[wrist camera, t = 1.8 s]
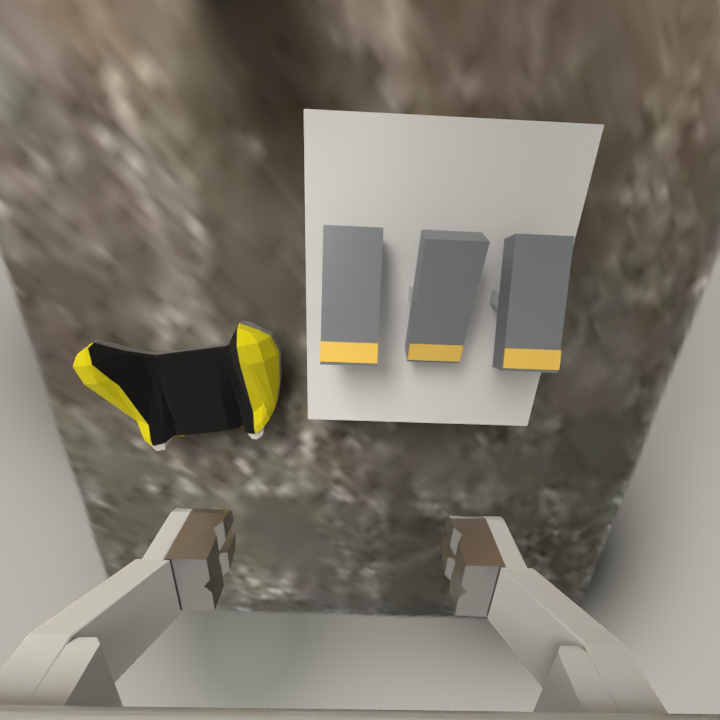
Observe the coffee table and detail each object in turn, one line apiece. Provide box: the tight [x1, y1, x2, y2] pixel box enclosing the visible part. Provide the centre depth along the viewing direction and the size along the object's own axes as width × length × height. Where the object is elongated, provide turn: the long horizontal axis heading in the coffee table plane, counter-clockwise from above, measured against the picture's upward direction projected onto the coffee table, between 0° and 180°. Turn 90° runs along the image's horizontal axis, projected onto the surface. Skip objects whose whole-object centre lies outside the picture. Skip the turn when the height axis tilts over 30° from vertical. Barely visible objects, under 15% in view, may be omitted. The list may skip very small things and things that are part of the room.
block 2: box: [492, 234, 574, 373], centre depth 22 cm, size 8×3×2 cm, turn 178°
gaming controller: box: [73, 321, 282, 451], centre depth 29 cm, size 15×6×10 cm
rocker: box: [405, 230, 490, 363], centre depth 22 cm, size 8×3×2 cm, turn 178°
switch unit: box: [304, 109, 604, 426], centre depth 26 cm, size 20×17×6 cm
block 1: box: [320, 225, 383, 367], centre depth 22 cm, size 8×3×2 cm, turn 178°
